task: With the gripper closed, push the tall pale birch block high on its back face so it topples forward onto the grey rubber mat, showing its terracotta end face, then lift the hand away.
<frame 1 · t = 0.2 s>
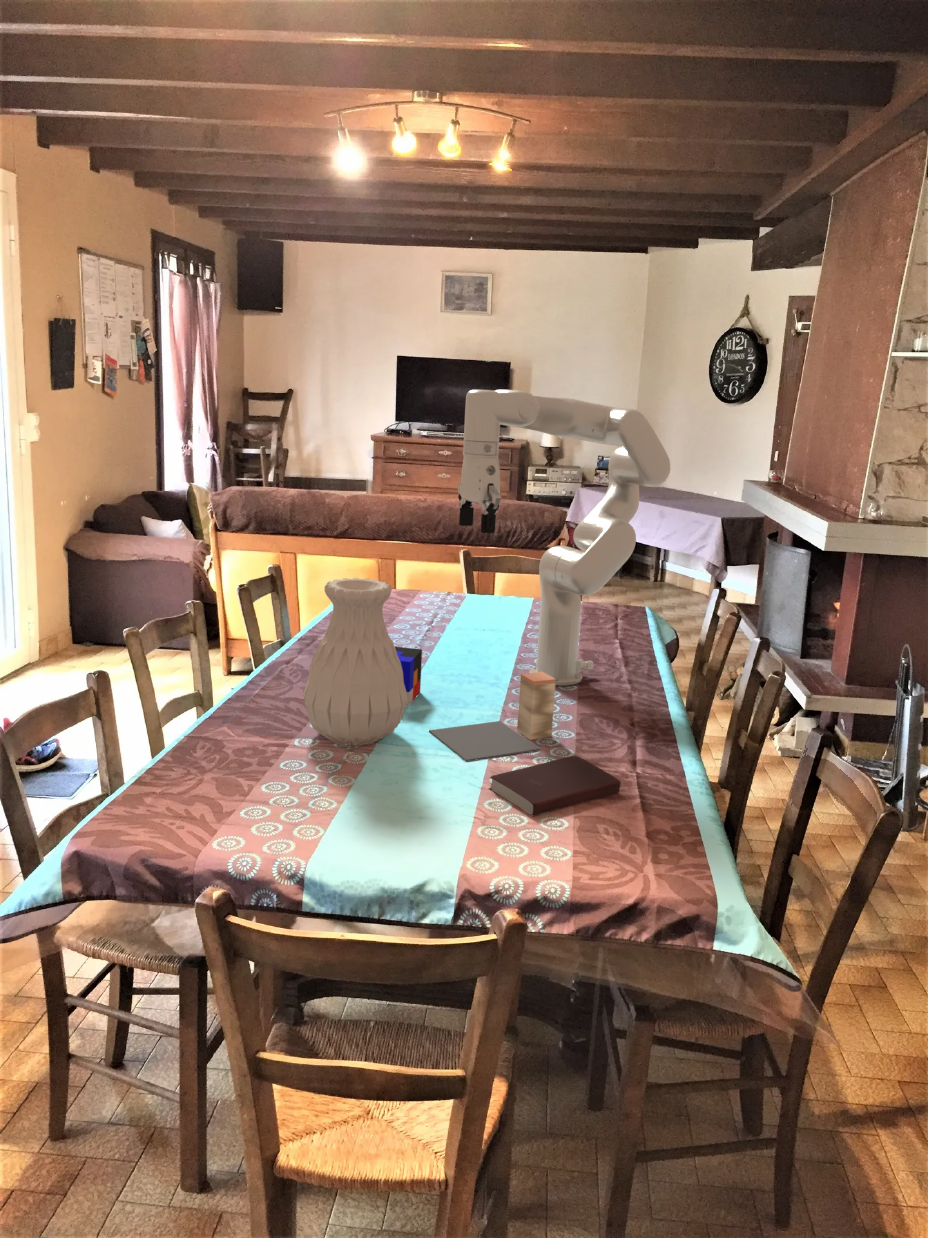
hand: (476, 529, 210), 36 cm above the table, tool pointing down, fingers open, 9 cm apart
book: (553, 794, 168), on the table
tall block: (534, 733, 194), on the table
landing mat: (483, 740, 189), on the table
puzzle toy: (392, 697, 211), on the table
vase: (354, 736, 188), on the table
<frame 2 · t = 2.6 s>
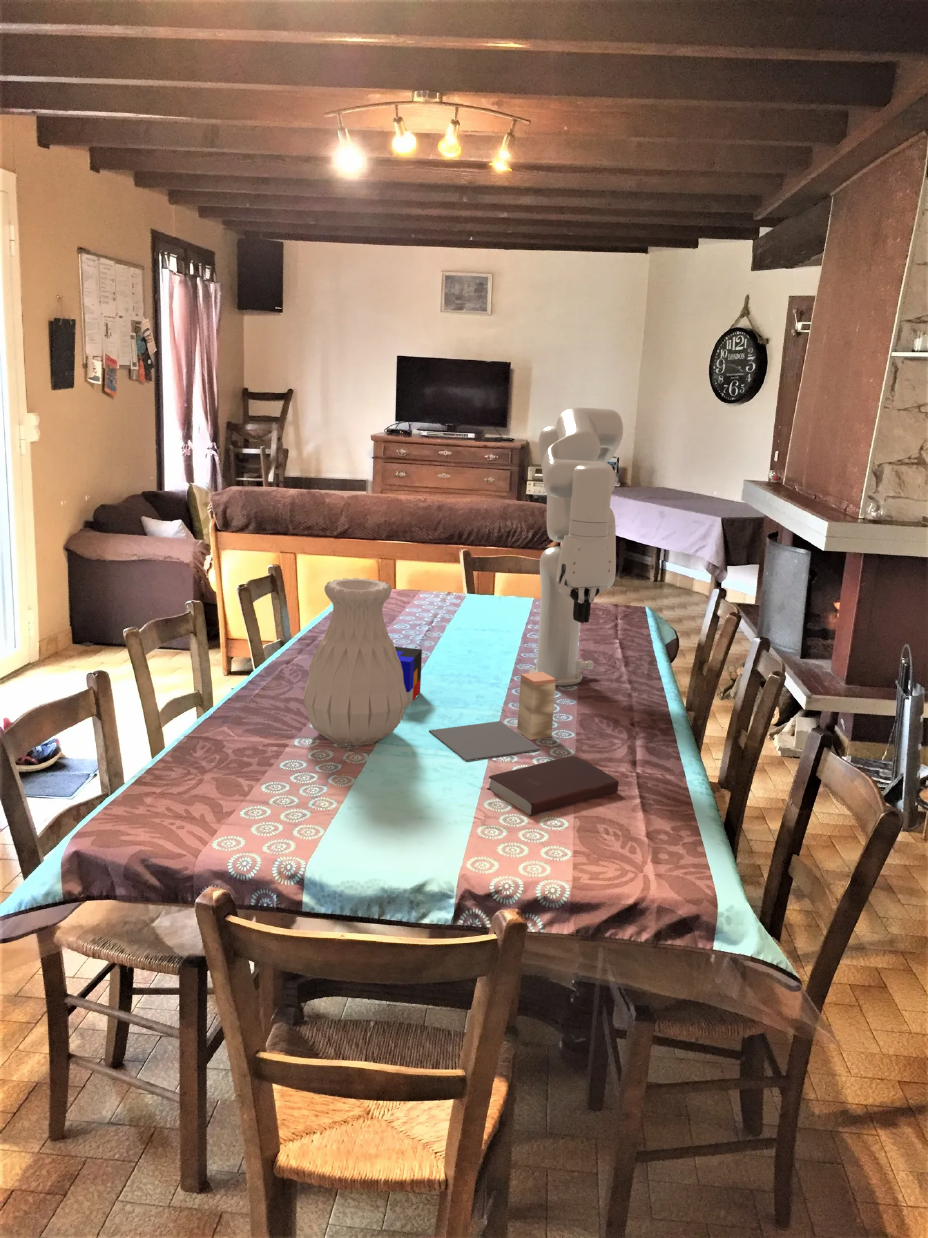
hand: (580, 620, 192), 23 cm above the table, tool pointing down, fingers closed
nothing on the table moved.
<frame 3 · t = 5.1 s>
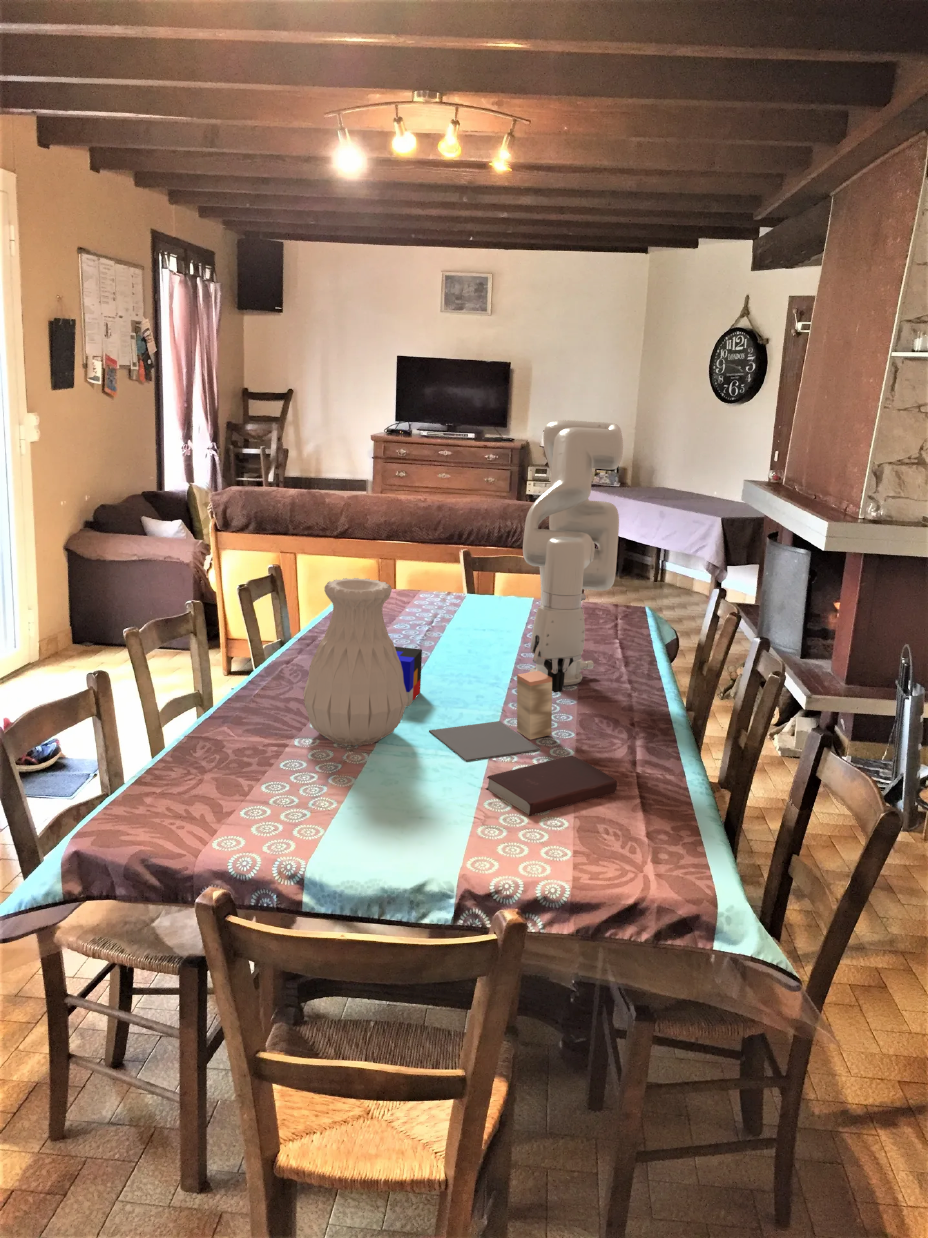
hand: (554, 690, 193), 9 cm above the table, tool pointing down, fingers closed
nothing on the table moved.
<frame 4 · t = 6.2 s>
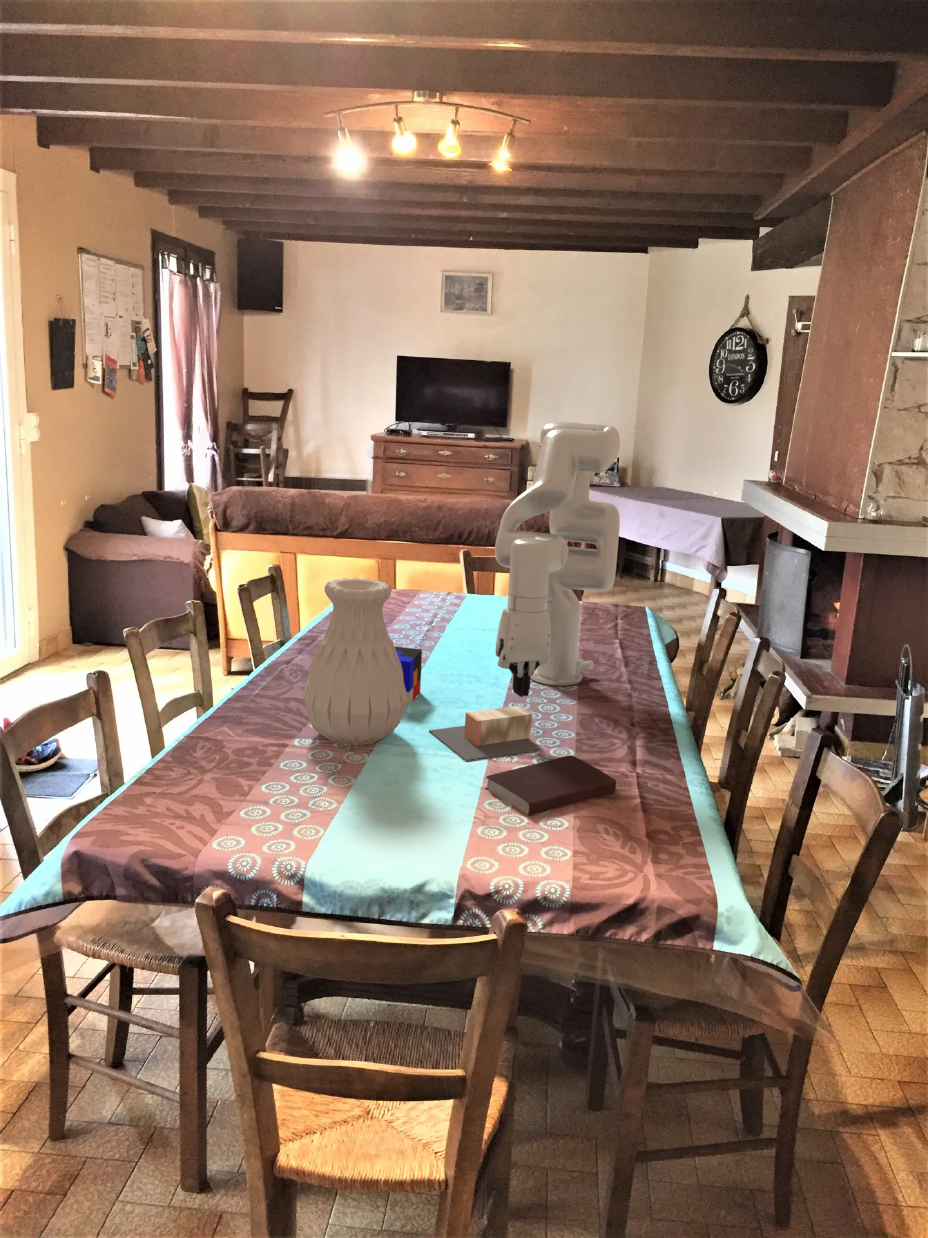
hand: (520, 694, 190), 9 cm above the table, tool pointing down, fingers closed
tall block: (524, 721, 192), point 3 cm above the table, tilted 90°, touching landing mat
everything else where it was.
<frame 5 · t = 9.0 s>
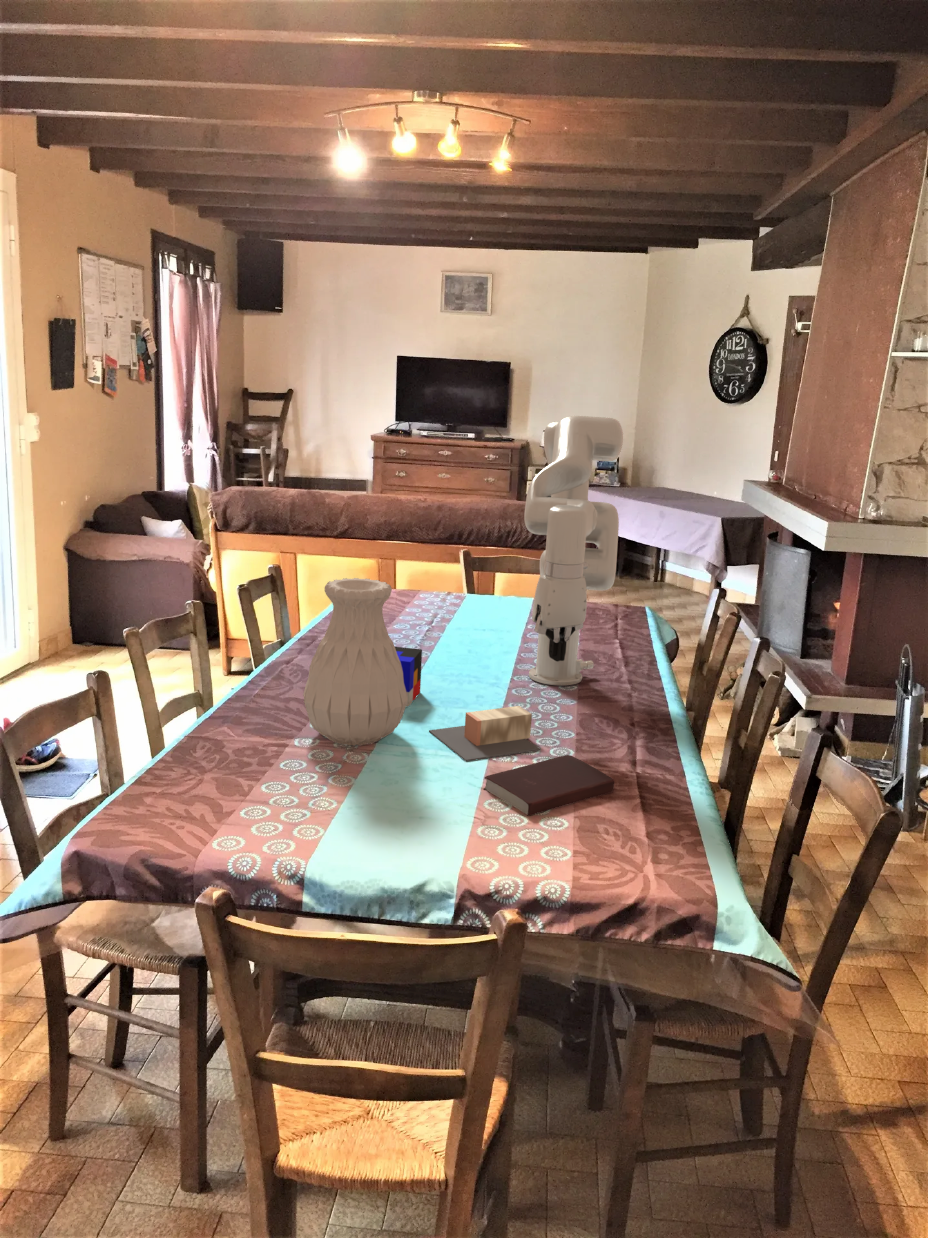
hand: (556, 658, 193), 15 cm above the table, tool pointing down, fingers closed
nothing on the table moved.
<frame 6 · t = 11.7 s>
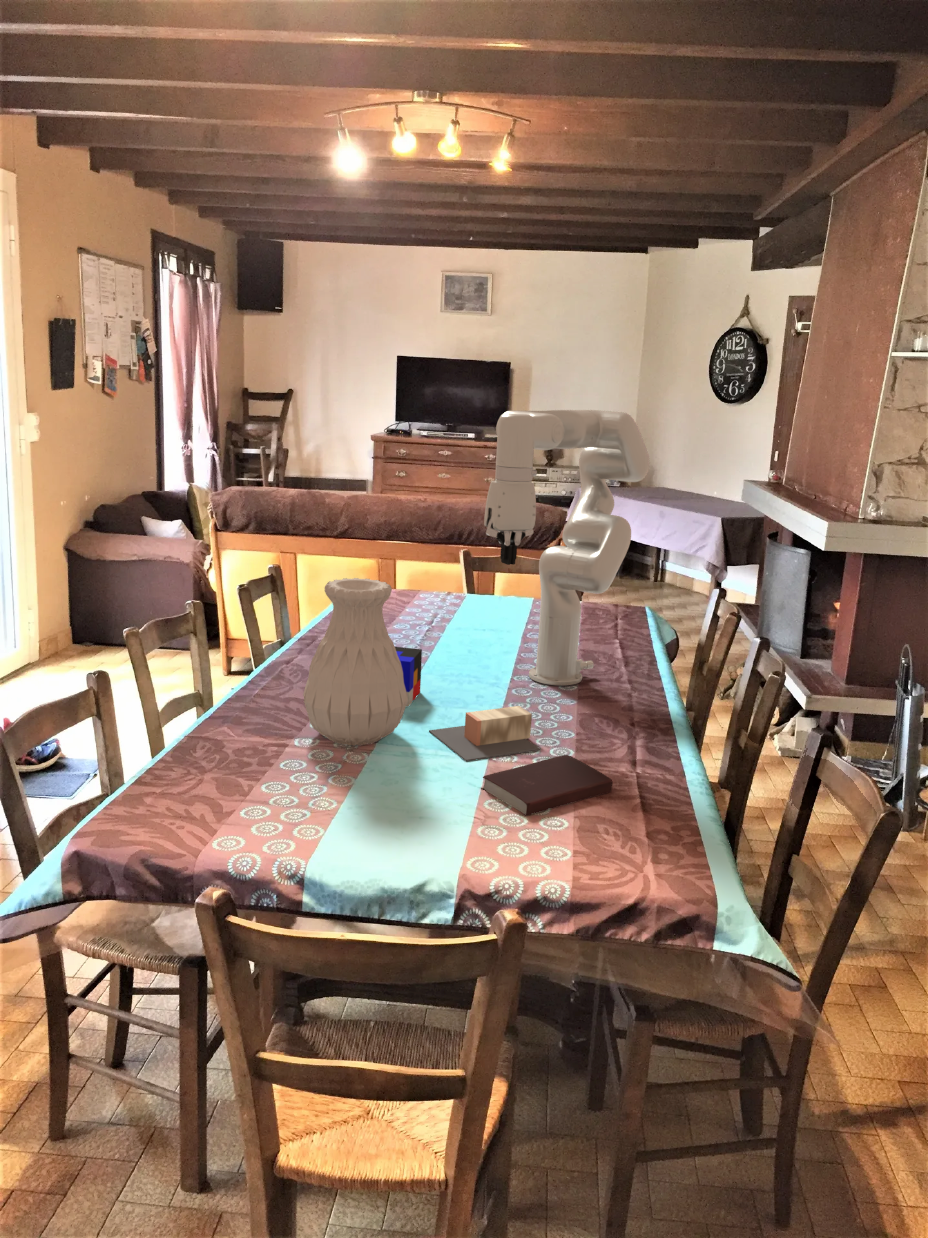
hand: (508, 563, 203), 31 cm above the table, tool pointing down, fingers closed
at the end: tall block tilted 90°; tall block touching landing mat; tall block inside the target area (2.6 cm from its centre), point 2.8 cm above the table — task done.
